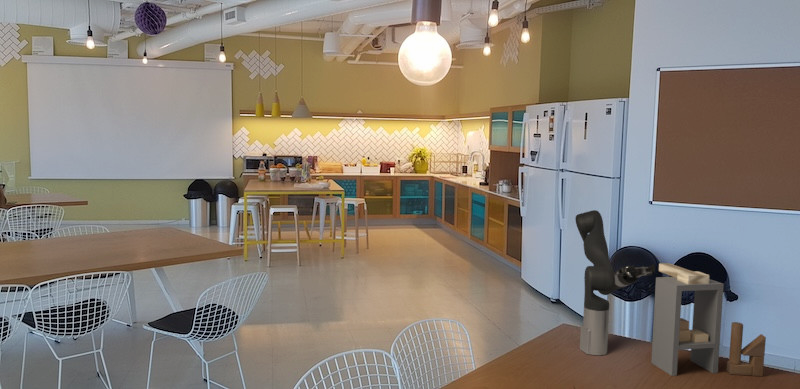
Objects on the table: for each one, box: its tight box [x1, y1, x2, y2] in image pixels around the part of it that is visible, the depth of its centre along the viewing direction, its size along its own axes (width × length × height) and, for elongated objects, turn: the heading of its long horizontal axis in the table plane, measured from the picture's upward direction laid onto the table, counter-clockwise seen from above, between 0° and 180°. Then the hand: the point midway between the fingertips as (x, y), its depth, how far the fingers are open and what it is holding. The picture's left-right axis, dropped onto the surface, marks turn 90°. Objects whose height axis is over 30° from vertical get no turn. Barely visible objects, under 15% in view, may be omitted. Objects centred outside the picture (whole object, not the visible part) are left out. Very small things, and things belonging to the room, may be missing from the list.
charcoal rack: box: [650, 276, 725, 377], centre depth 214 cm, size 18×12×32 cm, turn 100°
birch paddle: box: [658, 262, 710, 284], centre depth 217 cm, size 8×20×3 cm, turn 10°
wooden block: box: [726, 321, 767, 377], centre depth 210 cm, size 4×11×18 cm, turn 82°
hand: (644, 267), depth 240 cm, fingers open, 8 cm apart
